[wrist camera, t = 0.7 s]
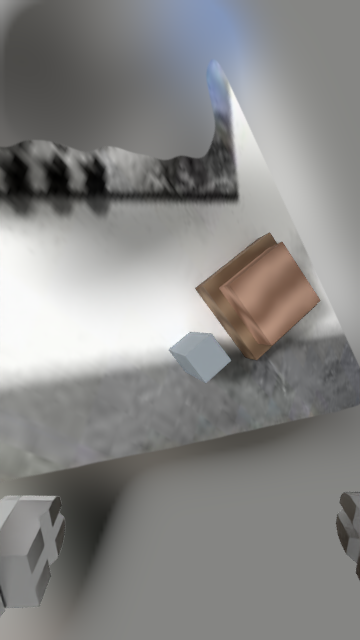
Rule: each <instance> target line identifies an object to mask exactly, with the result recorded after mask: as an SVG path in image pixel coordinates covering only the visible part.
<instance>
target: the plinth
mask: <svg viewBox="0 0 360 640" xmlns="http://www.w3.org/2000/svg"><path fill="white" fill-rule="evenodd" d="M195 289H196V290H197V292H198V293H199V294H200V296H201V297H202V299H203V300H204V301H205V303H206V304H207V305H208V307H209V308H210V310H211V311H212V312H213V314H214V315H215V316H216V318H217V319H218V321H219V322H220V323H221V325H222V326H223V327H224V329H225V330H226V332H227V333H228V334H229V336H230V337H231V338H232V340H233V341H234V343H235V344H236V345H237V347H238V348H239V349H240V351H241V352H242V353H243V355H244V356H245V358H249V359H254V360H258V359H259V358H260V357H261V356H262V355H263V354H264V353H265V352H266V351H267V350H268V349H269V348H271V347H272V346H273V345H274V344H275V343H276V342H277V341H278V340H279V339H280V338H281V337H282V336H284V335H285V334H286V333H287V332H288V331H289V330H290V329H291V328H292V327H293V326H294V325H295V324H296V323H298V322H299V321H300V320H301V319H302V318H303V317H304V316H305V315H306V314H307V313H308V312H309V311H311V310H312V309H313V308H314V307H315V306H316V305H317V303H318V302H319V301H320V299H319V297H318V296H317V294H316V293H315V291H314V290H313V288H312V287H311V285H310V284H309V282H308V281H307V279H306V277H305V276H304V274H303V273H302V271H301V270H300V268H299V267H298V265H297V264H296V262H295V261H294V259H293V257H292V256H291V254H290V253H289V251H288V250H287V248H286V247H285V245H284V244H283V242H280V243H278V244H277V243H276V241H275V240H274V238H273V237H272V235H271V234H270V233H268V234H266V235H264V236H262V237H261V238H259V239H257V240H256V241H255V242H253V243H252V244H251V245H250V246H248V247H247V248H246V249H245V250H243V251H242V252H241V253H239V254H238V255H237V256H236V257H234V258H233V259H232V260H231V261H229V262H228V263H227V264H226V265H224V266H223V267H222V268H220V269H219V270H218V271H217V272H215V273H214V274H213V275H212V276H210V277H209V278H208V279H207V280H205V281H204V282H203V283H201V284H200V285H199V286H198V287H196V288H195Z"/></svg>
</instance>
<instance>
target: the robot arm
mask: <svg viewBox="0 0 360 640" xmlns="http://www.w3.org/2000/svg"><path fill="white" fill-rule="evenodd" d="M340 504H341V506H342V507H343V509H342V510H341V511H340V512H339V513H338V514H337V519H336V527H337V533H338V537H339V540H340V542H341V545H342V547H343V549H344V551H345V553H346V554H347V555H348V556H349V557H350V558H351V559H352V560H353V561H355V562H356V563H357V565H356V574H357V576H358V578H359V580H360V492H344V493H343V494H342V495H341V497H340ZM61 507H62V503H61V500H60V497H58V496H5V497H4V498H3V499H2V500H0V616H1V615H2V614H3V613H4V612H5V608H21V607H22V608H23V607H39V606H40V604H41V601H42V599H43V596H44V593H45V590H46V588H47V585H48V583H49V580H50V578H51V573H50V568H49V566H50V565H51V563H53V562H54V561H55V560H56V559H57V558H58V556H59V553H60V551H61V548H62V545H63V540H64V535H65V519H64V517H63V516H62V515H61V514H60V513H59V511H60V509H61Z"/></svg>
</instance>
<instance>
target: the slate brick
mask: <svg viewBox="0 0 360 640" xmlns="http://www.w3.org/2000/svg"><path fill="white" fill-rule="evenodd" d="M169 351H170V353H171V354H172V355H173V356H174V358H175V359H176V360H177V362H178V363H179V364H180V365H181V367H182V368H183V369H184V371H185V372H187V373H188V374H190V375H192V376H194V377H196V378H197V379H199V380H201V381H203V382H205V383H207V382H208V381H209V380H210V379H211V378H212V377H213V376H215V375H216V374H217V373H218V372H219V371H220V370H221V369H222V368H223V367H225V366H226V365H227V364H228V363H229V362H230V361H231V359H230V358H229V357H228V355H227V354H226V353H225V351H224V350H223V349H222V347H221V346H220V344H219V343H218V342H217V340H216V339H215V338H214V336H213V335H212V334H211V333H198V332H189V333H188V334H187V335H186V336H185V337H183V338H182V339H181V340H180V341H179V342H177V343H176V344H175V345H174V346H173V347H171V348H170V349H169Z"/></svg>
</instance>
